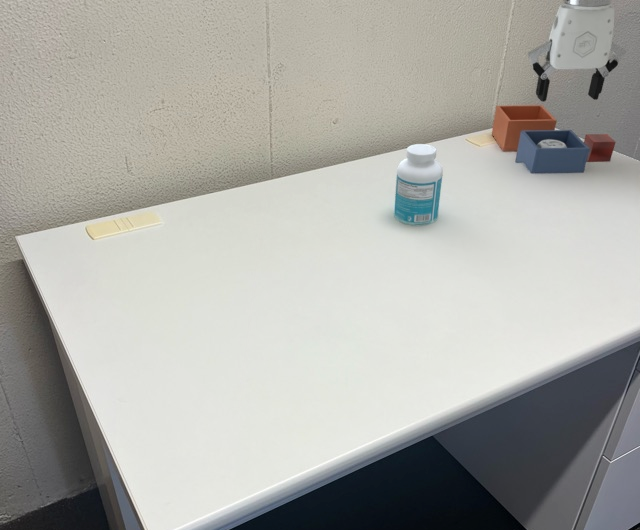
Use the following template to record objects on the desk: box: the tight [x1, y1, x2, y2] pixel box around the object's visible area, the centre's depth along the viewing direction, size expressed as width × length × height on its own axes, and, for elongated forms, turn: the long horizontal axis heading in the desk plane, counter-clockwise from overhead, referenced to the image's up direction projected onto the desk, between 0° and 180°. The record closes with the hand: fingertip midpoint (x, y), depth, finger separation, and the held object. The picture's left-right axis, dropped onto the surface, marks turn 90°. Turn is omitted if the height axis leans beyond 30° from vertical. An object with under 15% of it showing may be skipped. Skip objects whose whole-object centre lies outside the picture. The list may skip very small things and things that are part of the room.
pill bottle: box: [393, 143, 444, 227], centre depth 101 cm, size 8×7×14 cm
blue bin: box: [514, 129, 590, 174], centre depth 121 cm, size 10×10×7 cm
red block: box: [583, 133, 616, 163], centre depth 127 cm, size 4×4×4 cm
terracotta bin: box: [491, 104, 558, 152], centre depth 134 cm, size 10×10×7 cm
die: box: [536, 139, 567, 148], centre depth 121 cm, size 5×5×5 cm
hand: (567, 98), depth 114 cm, fingers open, 9 cm apart
